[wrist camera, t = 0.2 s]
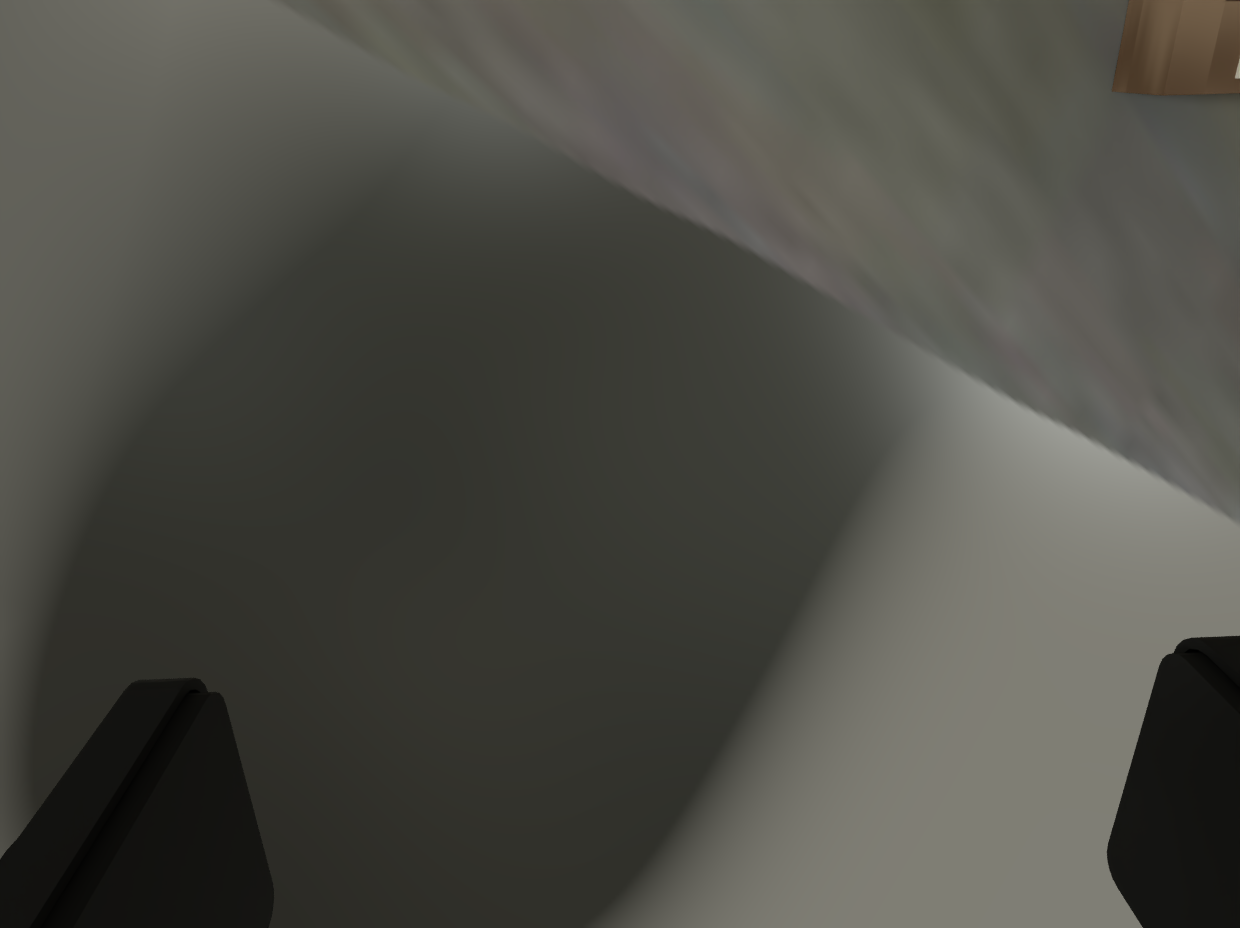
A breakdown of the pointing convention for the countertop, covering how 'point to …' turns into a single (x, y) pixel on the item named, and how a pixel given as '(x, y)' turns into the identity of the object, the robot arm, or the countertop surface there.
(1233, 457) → the countertop surface
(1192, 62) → the wooden cubby shelf
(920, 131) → the countertop surface
